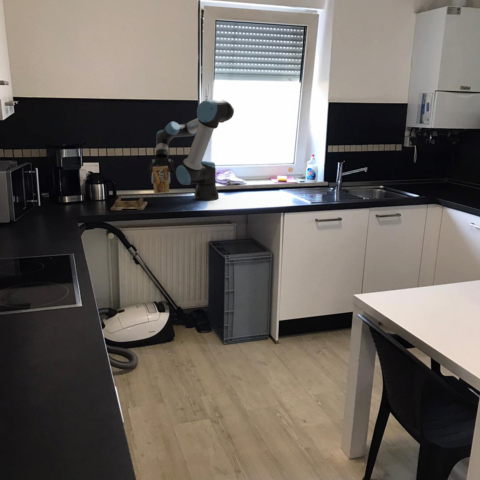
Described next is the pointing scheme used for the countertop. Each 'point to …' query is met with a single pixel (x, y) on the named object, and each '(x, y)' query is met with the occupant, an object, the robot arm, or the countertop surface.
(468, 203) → the countertop surface
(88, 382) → the countertop surface
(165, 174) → the candy box
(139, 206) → the slot holder
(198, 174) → the robot arm
